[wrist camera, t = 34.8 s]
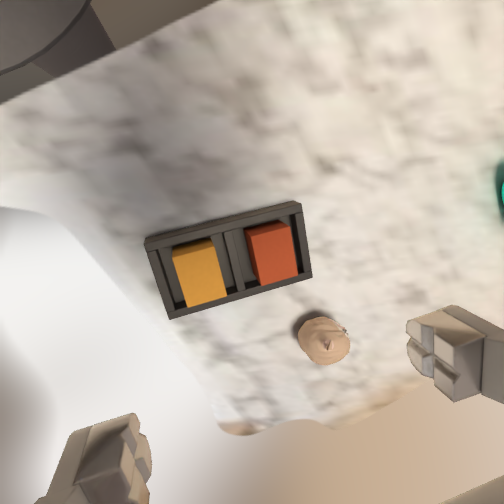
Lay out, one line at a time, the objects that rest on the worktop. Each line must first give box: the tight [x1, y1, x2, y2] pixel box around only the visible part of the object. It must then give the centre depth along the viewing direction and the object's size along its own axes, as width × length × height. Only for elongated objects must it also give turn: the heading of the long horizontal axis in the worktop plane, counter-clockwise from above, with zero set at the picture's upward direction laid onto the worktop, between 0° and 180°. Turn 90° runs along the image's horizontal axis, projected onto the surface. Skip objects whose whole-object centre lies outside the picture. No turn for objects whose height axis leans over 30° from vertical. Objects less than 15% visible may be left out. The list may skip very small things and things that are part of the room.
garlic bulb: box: [298, 317, 350, 365], centre depth 40 cm, size 7×6×8 cm
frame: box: [144, 201, 313, 320], centre depth 37 cm, size 10×18×3 cm, turn 102°
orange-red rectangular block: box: [243, 220, 298, 286], centre depth 36 cm, size 6×4×4 cm
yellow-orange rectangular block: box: [172, 238, 227, 308], centre depth 35 cm, size 6×4×4 cm
